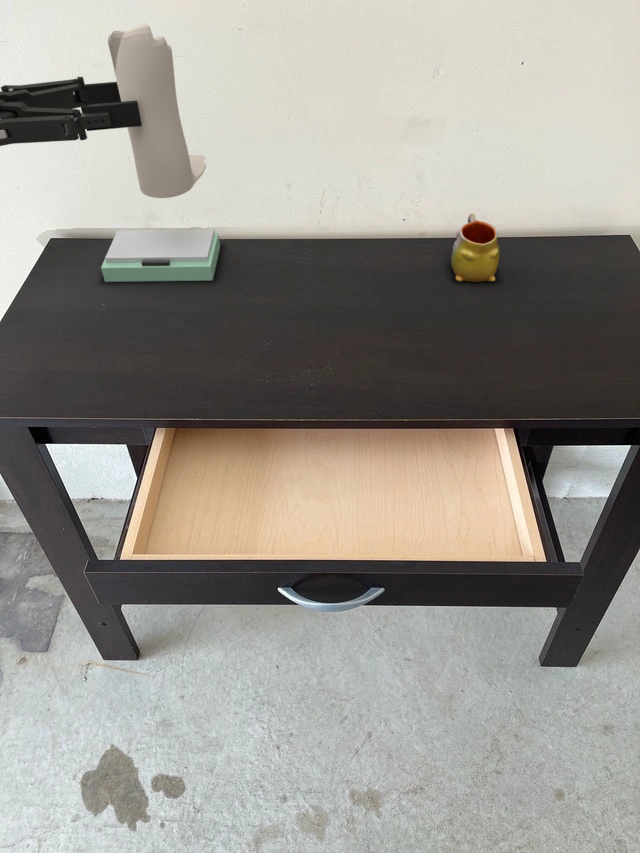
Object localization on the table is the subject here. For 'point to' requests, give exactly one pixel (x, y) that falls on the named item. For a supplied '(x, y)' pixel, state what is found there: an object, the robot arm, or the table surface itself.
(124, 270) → the scale
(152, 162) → the candle
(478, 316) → the table surface
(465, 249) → the mug
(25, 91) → the robot arm
